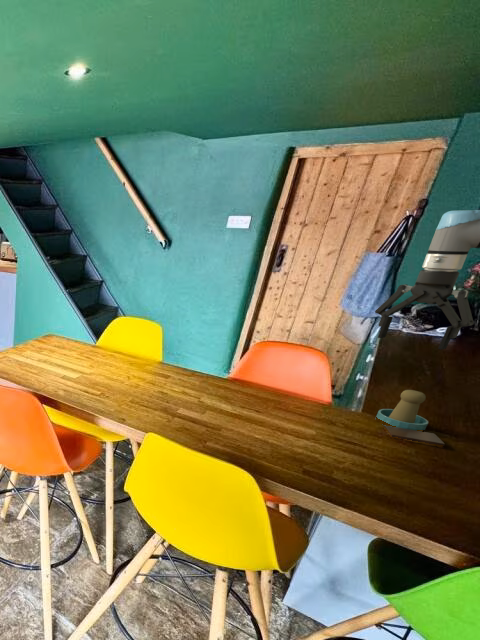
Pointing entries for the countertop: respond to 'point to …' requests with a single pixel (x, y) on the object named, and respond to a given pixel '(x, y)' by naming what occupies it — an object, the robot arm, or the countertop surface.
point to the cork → (408, 406)
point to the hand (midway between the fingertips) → (410, 343)
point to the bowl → (418, 425)
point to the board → (414, 435)
